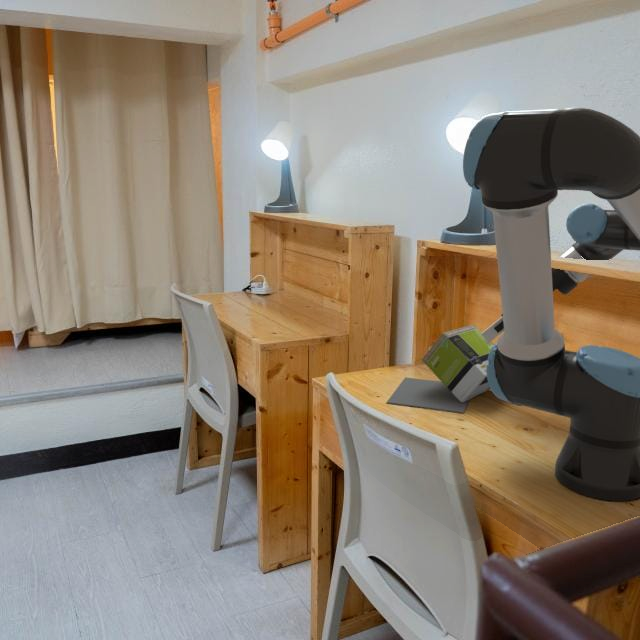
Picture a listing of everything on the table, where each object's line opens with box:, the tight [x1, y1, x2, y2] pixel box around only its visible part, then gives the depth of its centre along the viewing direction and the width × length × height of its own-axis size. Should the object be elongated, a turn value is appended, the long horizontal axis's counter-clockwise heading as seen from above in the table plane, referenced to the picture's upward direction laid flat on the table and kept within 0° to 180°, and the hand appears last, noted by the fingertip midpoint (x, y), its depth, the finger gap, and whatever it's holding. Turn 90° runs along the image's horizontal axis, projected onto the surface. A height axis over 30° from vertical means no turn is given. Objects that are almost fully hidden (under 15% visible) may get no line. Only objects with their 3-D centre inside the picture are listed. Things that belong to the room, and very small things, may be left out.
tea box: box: [421, 323, 495, 403], centre depth 153 cm, size 15×10×15 cm
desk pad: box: [386, 377, 470, 414], centre depth 155 cm, size 20×18×1 cm
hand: (485, 337), depth 148 cm, fingers closed
